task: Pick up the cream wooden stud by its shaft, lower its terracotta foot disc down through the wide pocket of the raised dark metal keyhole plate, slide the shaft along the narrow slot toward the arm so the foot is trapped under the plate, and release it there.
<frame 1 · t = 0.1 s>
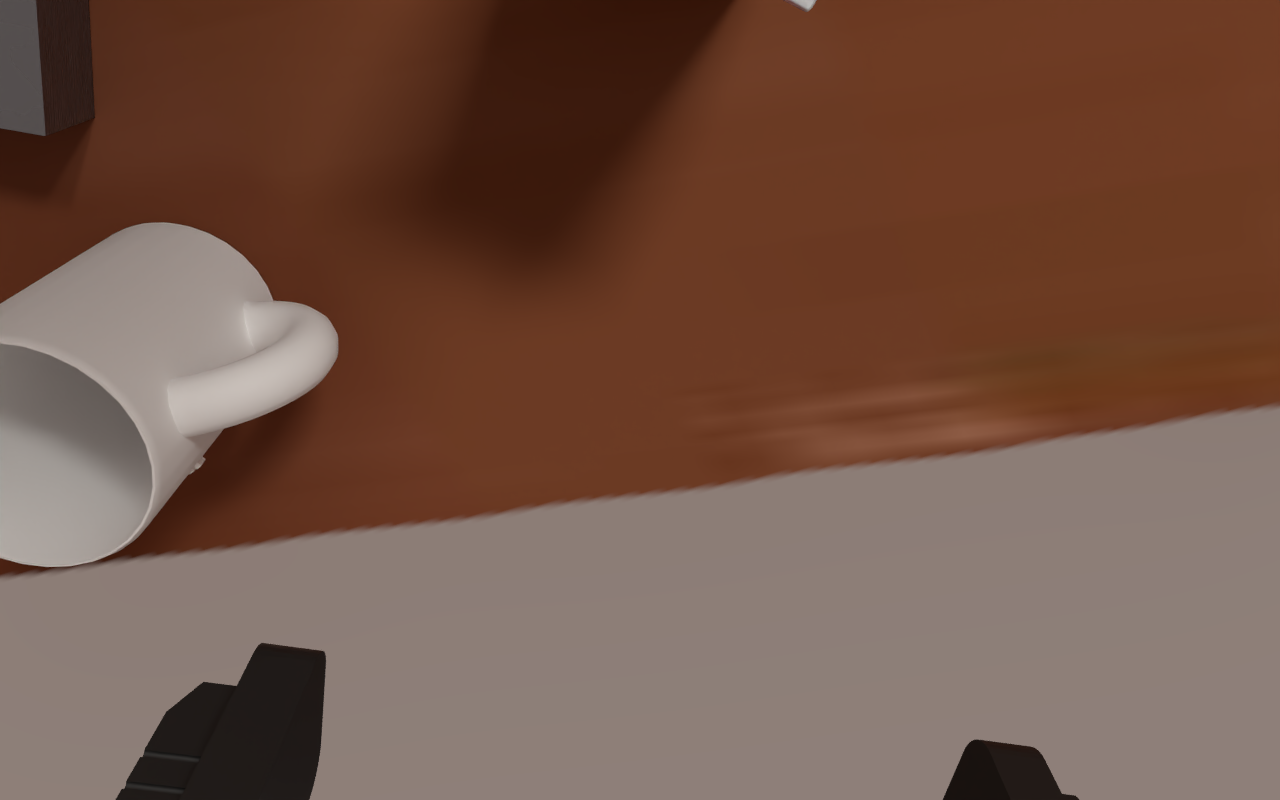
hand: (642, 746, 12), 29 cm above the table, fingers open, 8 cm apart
mug: (231, 311, 41), on the table
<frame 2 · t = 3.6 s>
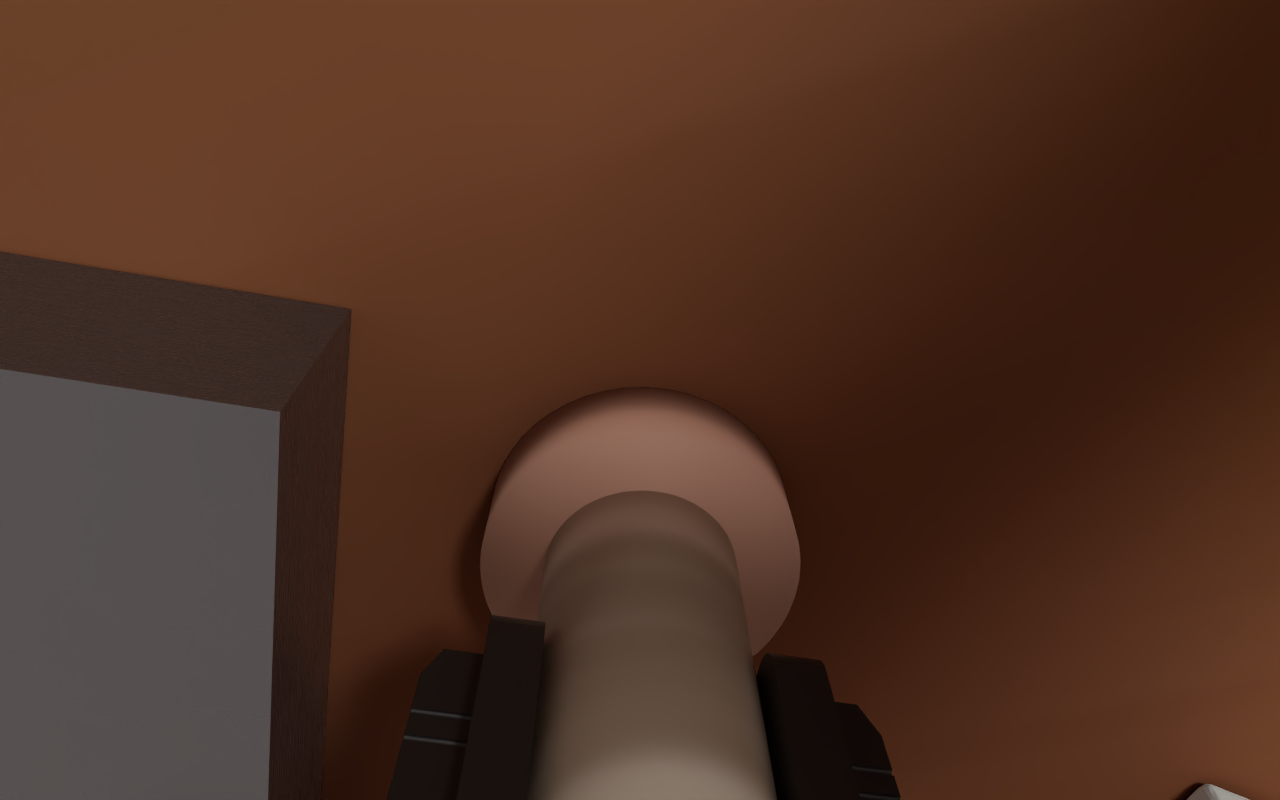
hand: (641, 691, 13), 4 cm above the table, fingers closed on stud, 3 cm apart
stud: (639, 520, 17), on the table, touching gripper
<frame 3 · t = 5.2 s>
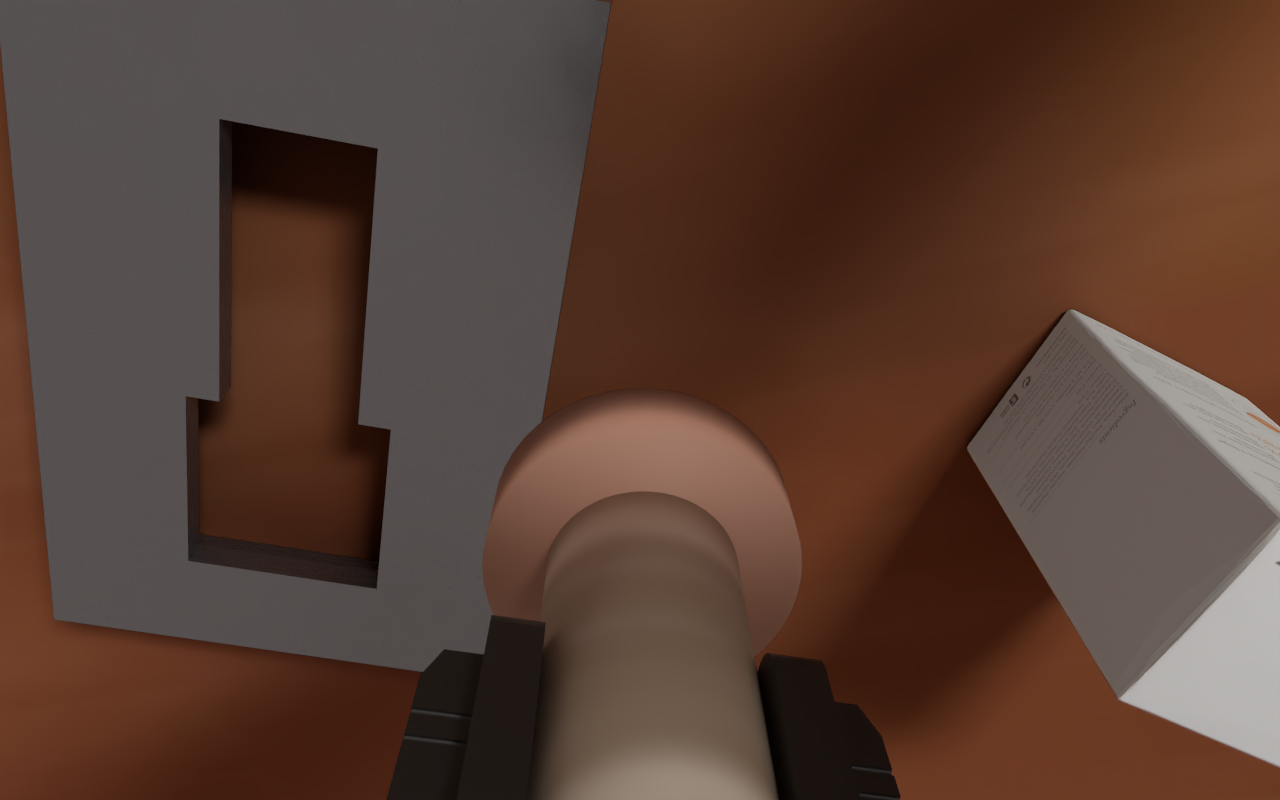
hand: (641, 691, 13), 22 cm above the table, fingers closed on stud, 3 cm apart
small box: (1100, 420, 36), on the table
keyhole plate: (322, 315, 34), on the table
stud: (641, 521, 17), point 18 cm above the table, touching gripper
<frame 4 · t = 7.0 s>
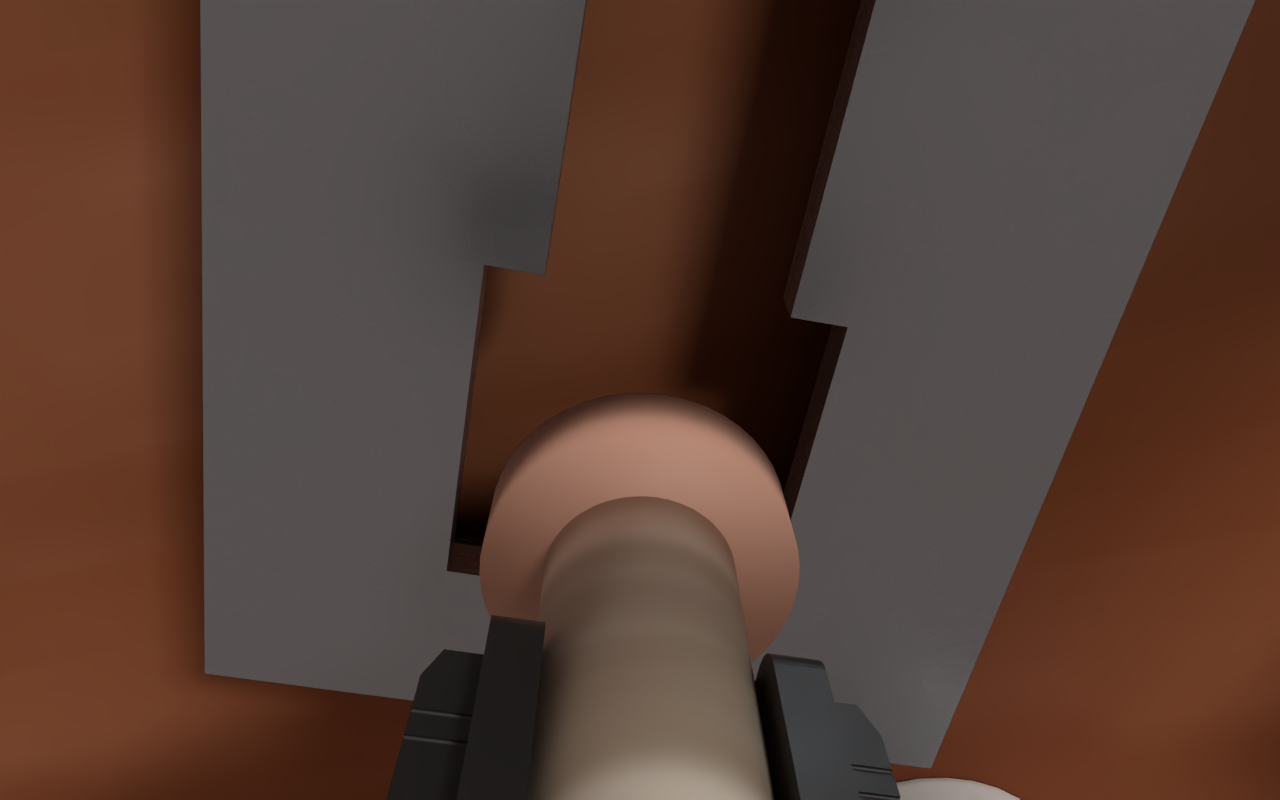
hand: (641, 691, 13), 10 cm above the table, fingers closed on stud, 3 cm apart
keyhole plate: (681, 141, 20), on the table
stud: (638, 525, 17), point 6 cm above the table, touching gripper
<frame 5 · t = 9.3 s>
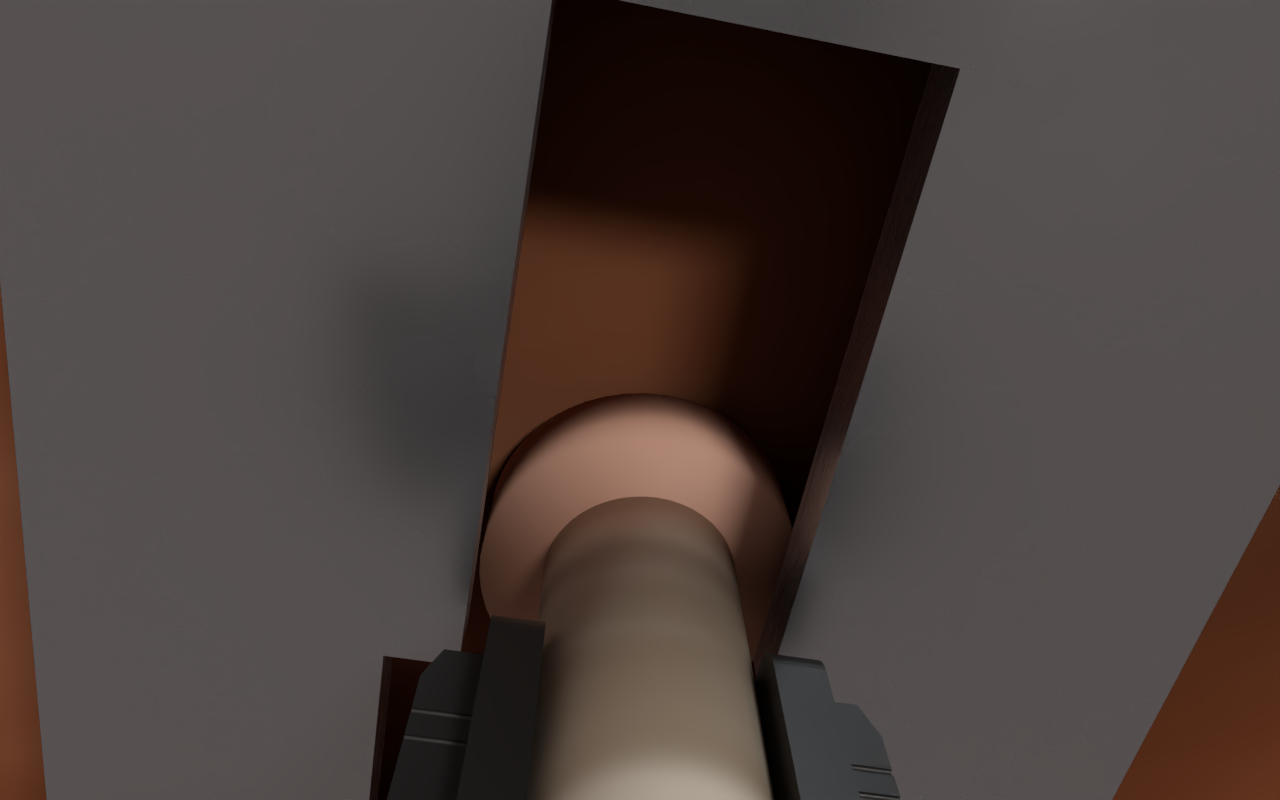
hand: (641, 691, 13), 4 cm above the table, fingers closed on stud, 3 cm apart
keyhole plate: (634, 448, 17), on the table
stud: (638, 525, 17), resting in keyhole plate, touching gripper
when the fingers open (5 cm above the table, at t = 10.8 s): stud stays where it is, resting in keyhole plate.
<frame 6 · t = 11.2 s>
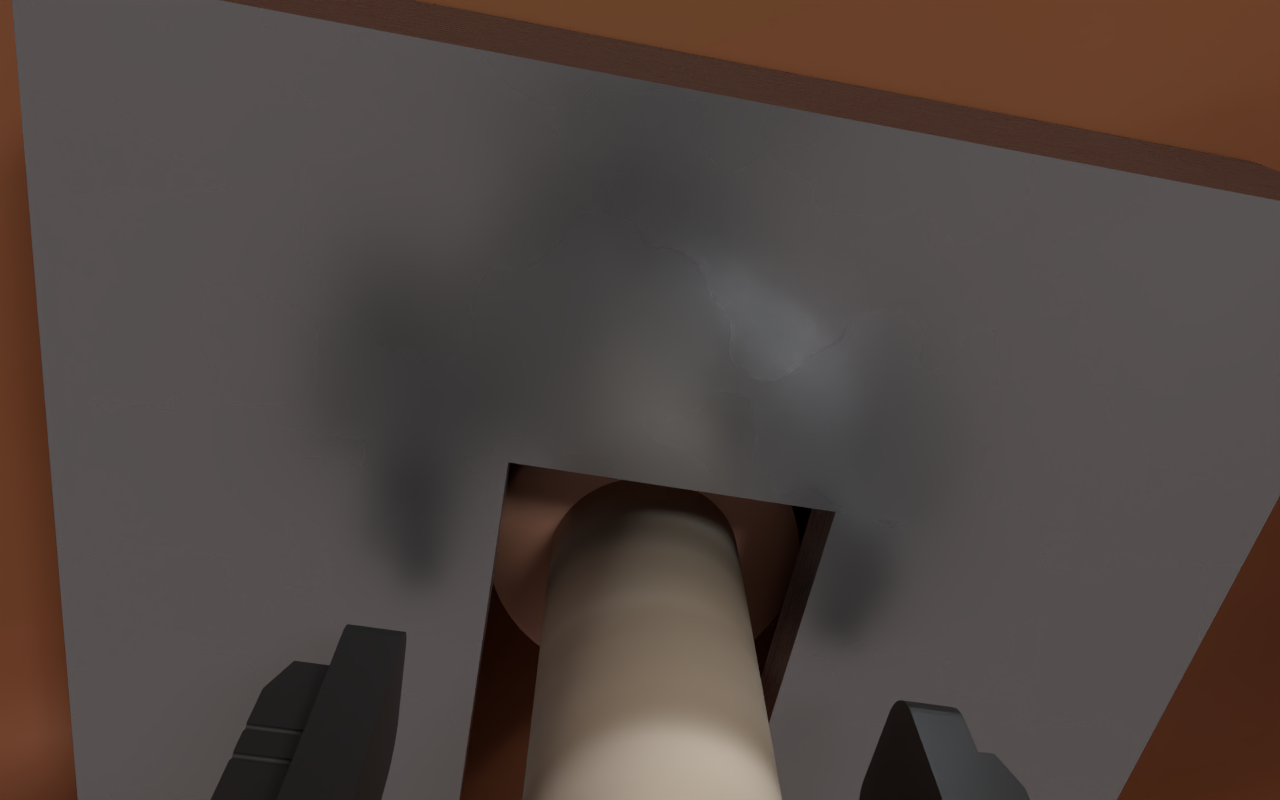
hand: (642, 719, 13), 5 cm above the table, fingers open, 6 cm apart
keyhole plate: (595, 702, 19), on the table
stud: (642, 508, 17), resting in keyhole plate
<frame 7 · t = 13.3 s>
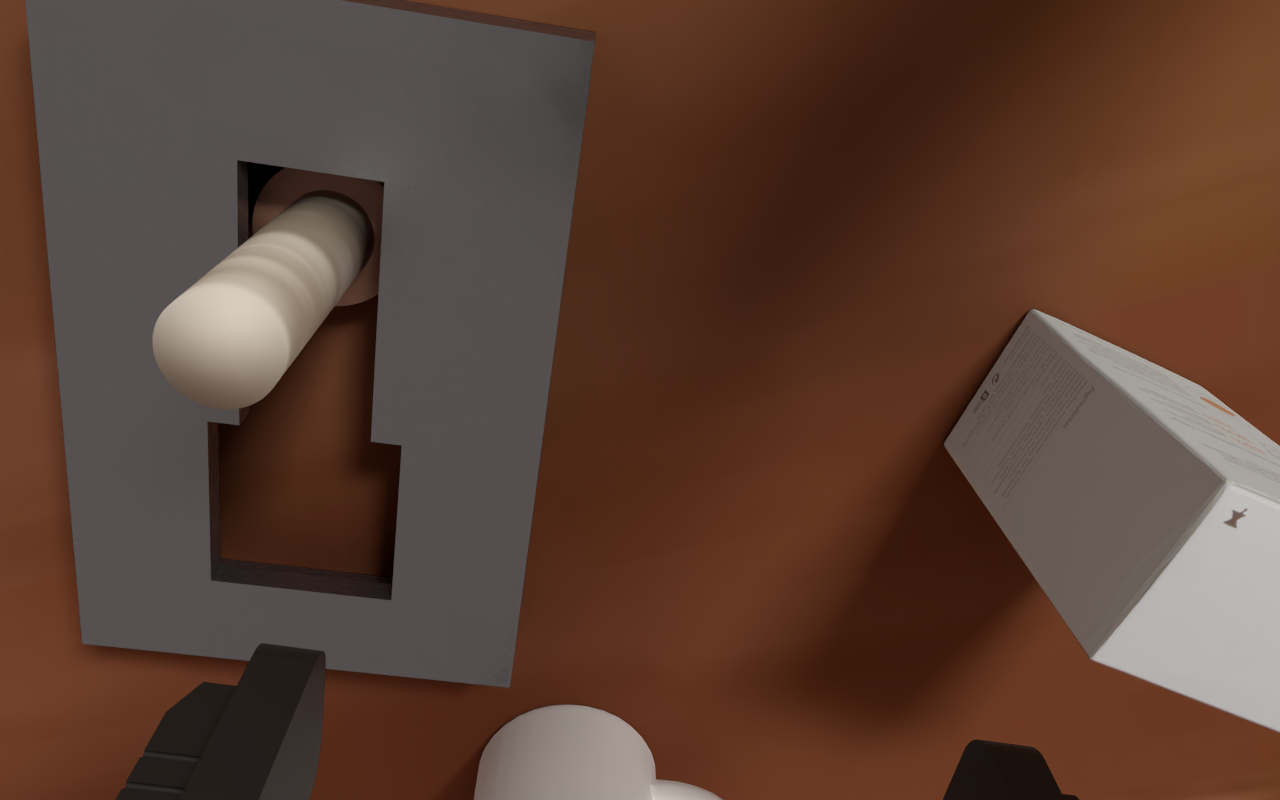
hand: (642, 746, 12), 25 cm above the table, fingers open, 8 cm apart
small box: (1067, 413, 39), on the table
keyhole plate: (332, 342, 36), on the table
stud: (340, 223, 35), resting in keyhole plate
mug: (610, 764, 46), on the table
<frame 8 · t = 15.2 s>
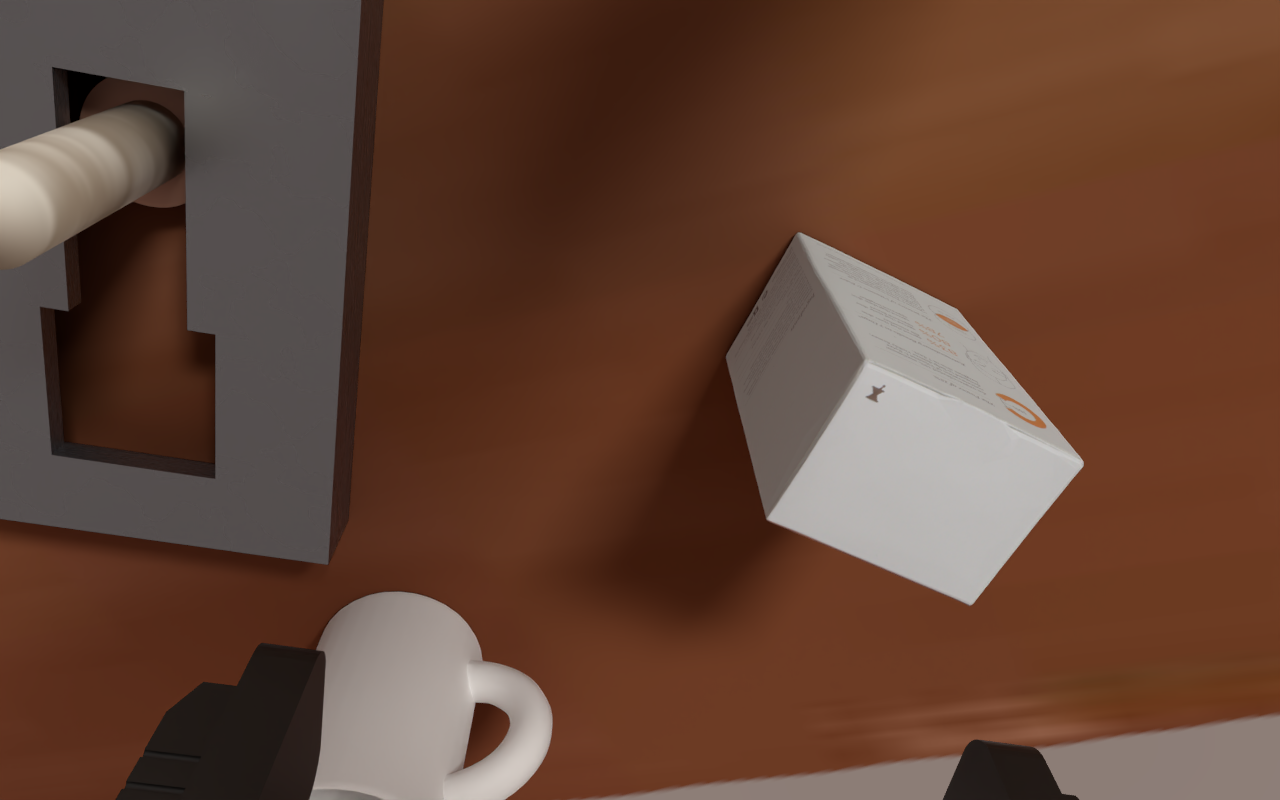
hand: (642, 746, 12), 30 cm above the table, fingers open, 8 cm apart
small box: (839, 331, 43), on the table
keyhole plate: (165, 243, 40), on the table
stud: (165, 133, 38), resting in keyhole plate
mug: (442, 649, 50), on the table
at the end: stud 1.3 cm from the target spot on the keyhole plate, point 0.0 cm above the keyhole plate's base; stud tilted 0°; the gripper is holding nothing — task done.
